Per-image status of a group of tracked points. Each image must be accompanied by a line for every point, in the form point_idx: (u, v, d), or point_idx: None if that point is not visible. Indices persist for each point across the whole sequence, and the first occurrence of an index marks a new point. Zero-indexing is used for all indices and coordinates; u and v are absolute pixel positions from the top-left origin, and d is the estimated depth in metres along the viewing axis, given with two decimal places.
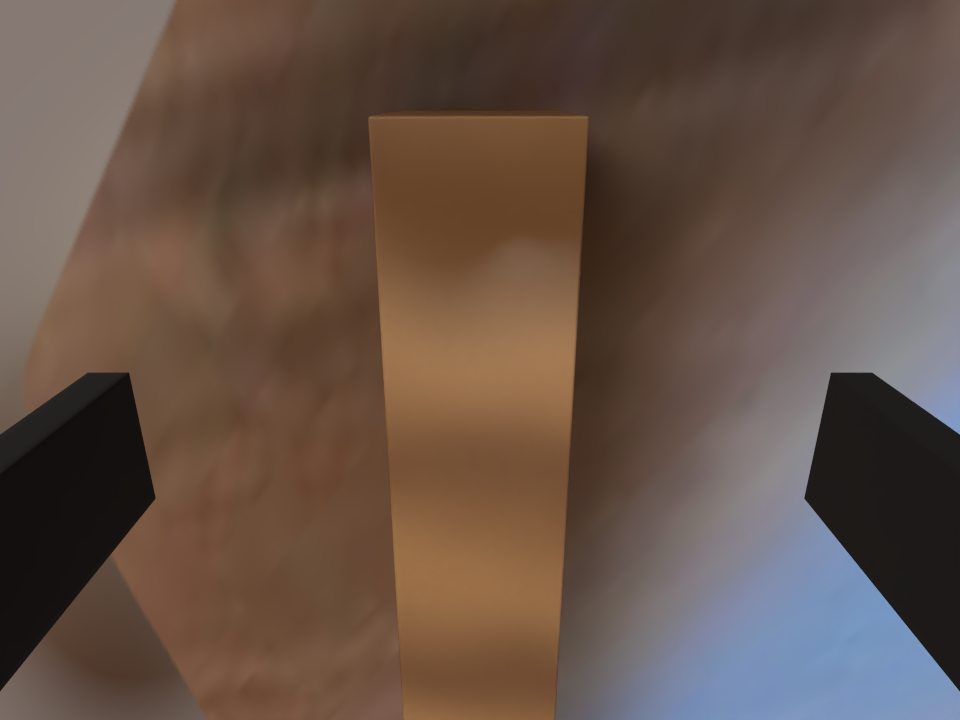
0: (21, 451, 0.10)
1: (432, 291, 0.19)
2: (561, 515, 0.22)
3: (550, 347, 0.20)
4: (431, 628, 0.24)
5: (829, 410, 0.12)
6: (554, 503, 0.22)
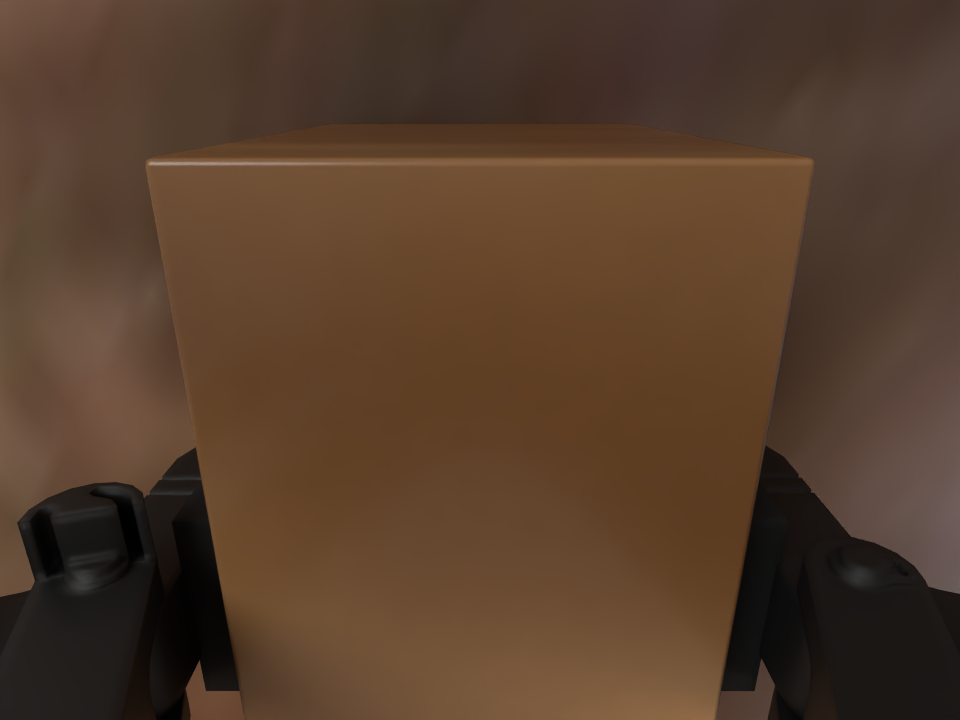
0: None
1: (361, 600, 0.07)
2: None
3: (655, 713, 0.08)
4: None
5: None
6: None
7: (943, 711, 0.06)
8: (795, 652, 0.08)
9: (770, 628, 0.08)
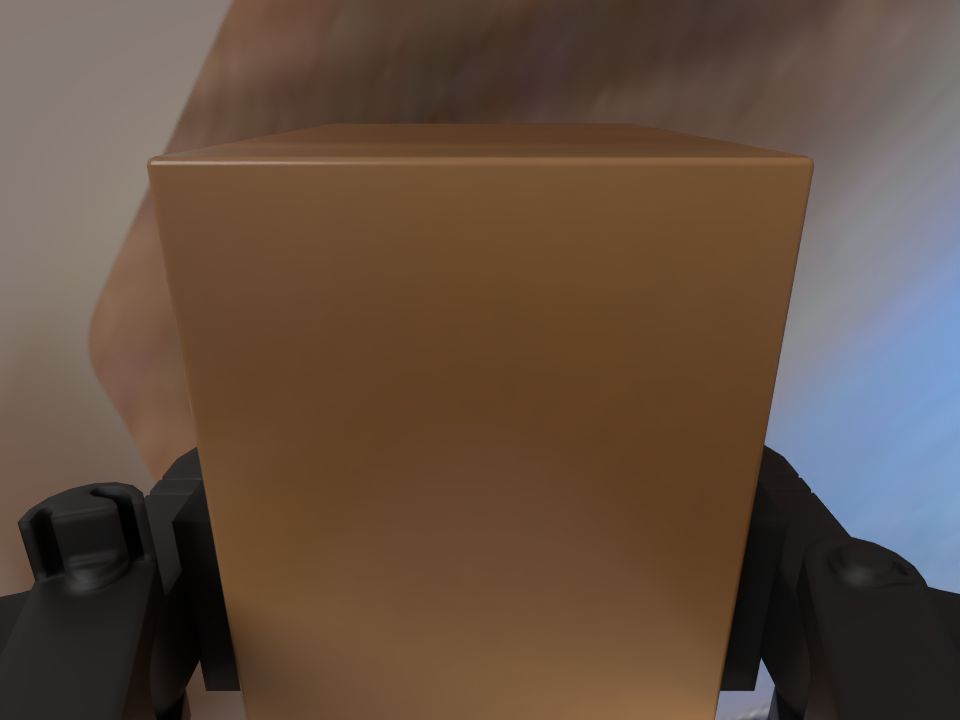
0: None
1: (362, 598, 0.08)
2: None
3: (655, 711, 0.08)
4: None
5: None
6: None
7: (941, 710, 0.06)
8: (795, 652, 0.08)
9: (769, 628, 0.08)
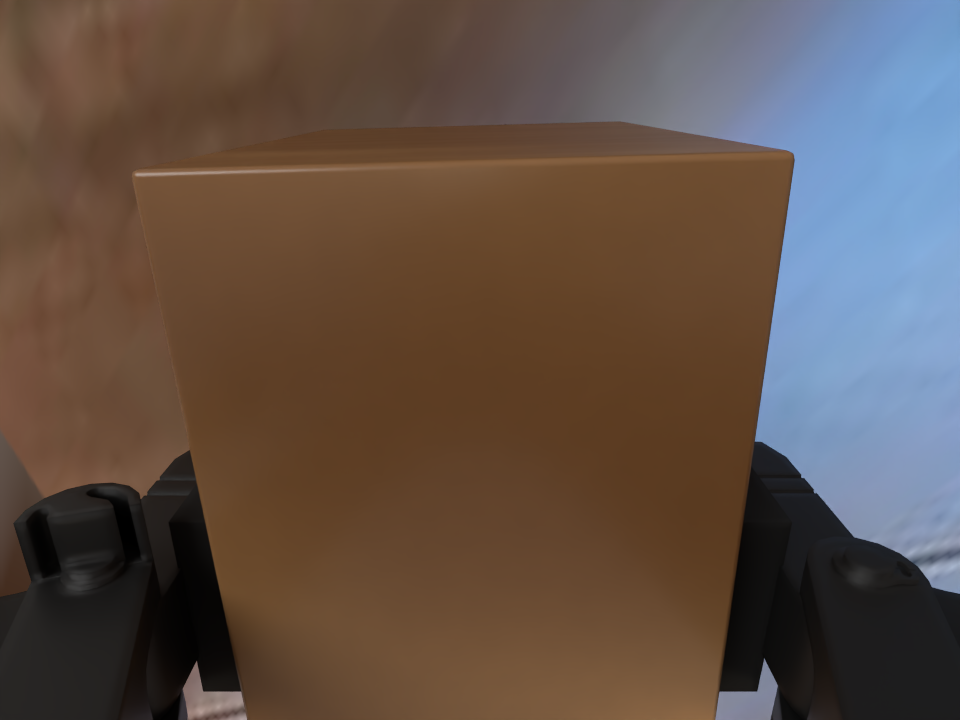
0: None
1: (359, 601, 0.08)
2: None
3: (655, 708, 0.08)
4: None
5: None
6: None
7: (946, 713, 0.06)
8: (798, 653, 0.08)
9: (772, 629, 0.08)
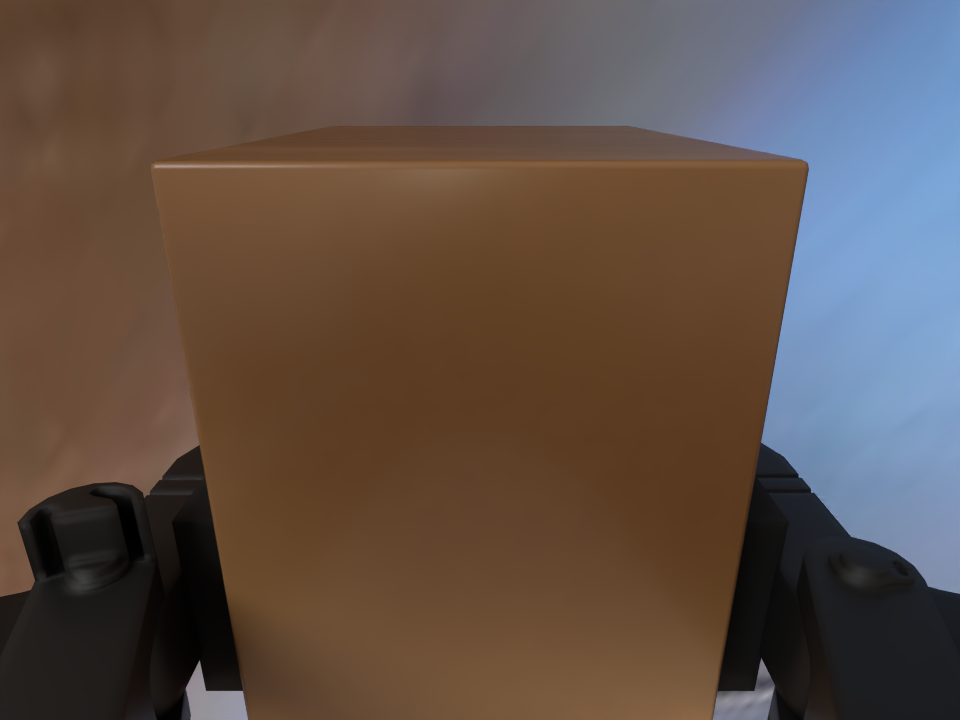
0: None
1: (363, 597, 0.08)
2: None
3: (653, 708, 0.08)
4: None
5: None
6: None
7: (943, 711, 0.06)
8: (795, 652, 0.08)
9: (769, 627, 0.08)
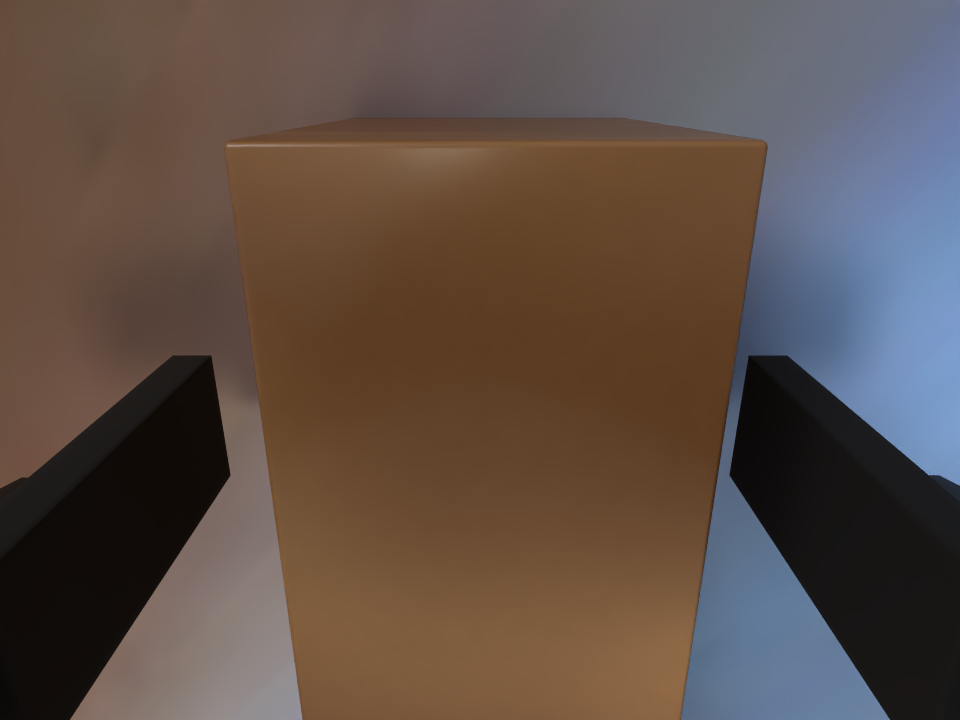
0: (133, 424, 0.10)
1: (392, 520, 0.09)
2: None
3: (642, 620, 0.09)
4: None
5: (747, 391, 0.13)
6: None
7: None
8: None
9: None
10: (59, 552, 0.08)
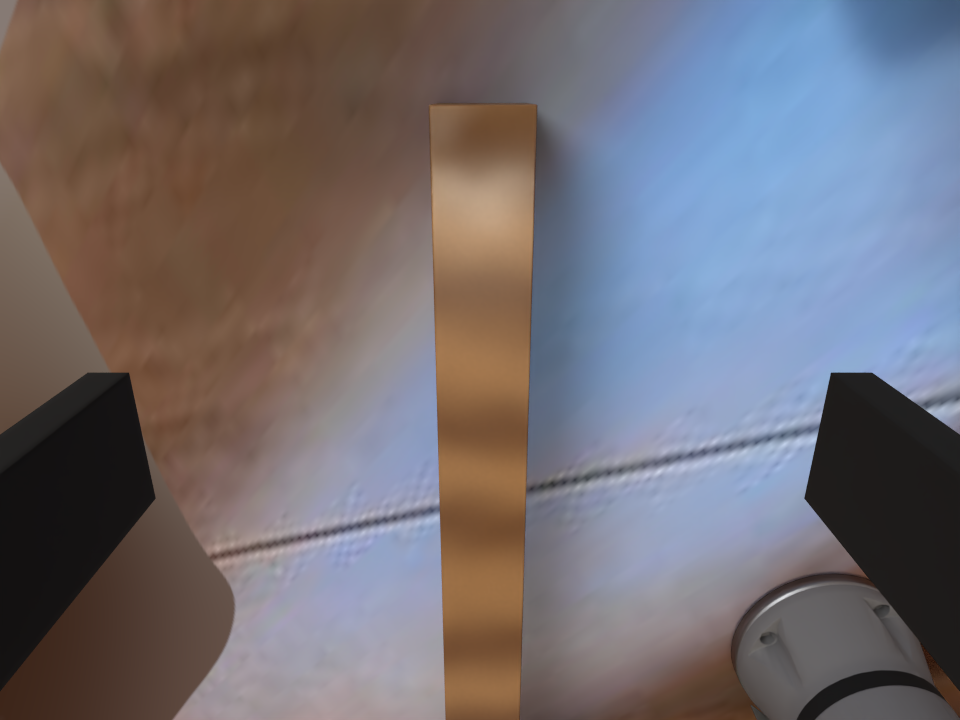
0: (21, 451, 0.10)
1: (459, 195, 0.38)
2: (527, 324, 0.40)
3: (520, 226, 0.38)
4: (455, 396, 0.42)
5: (829, 410, 0.12)
6: (524, 317, 0.40)
7: None
8: None
9: None
10: None
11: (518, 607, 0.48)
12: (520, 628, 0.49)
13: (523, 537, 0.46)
